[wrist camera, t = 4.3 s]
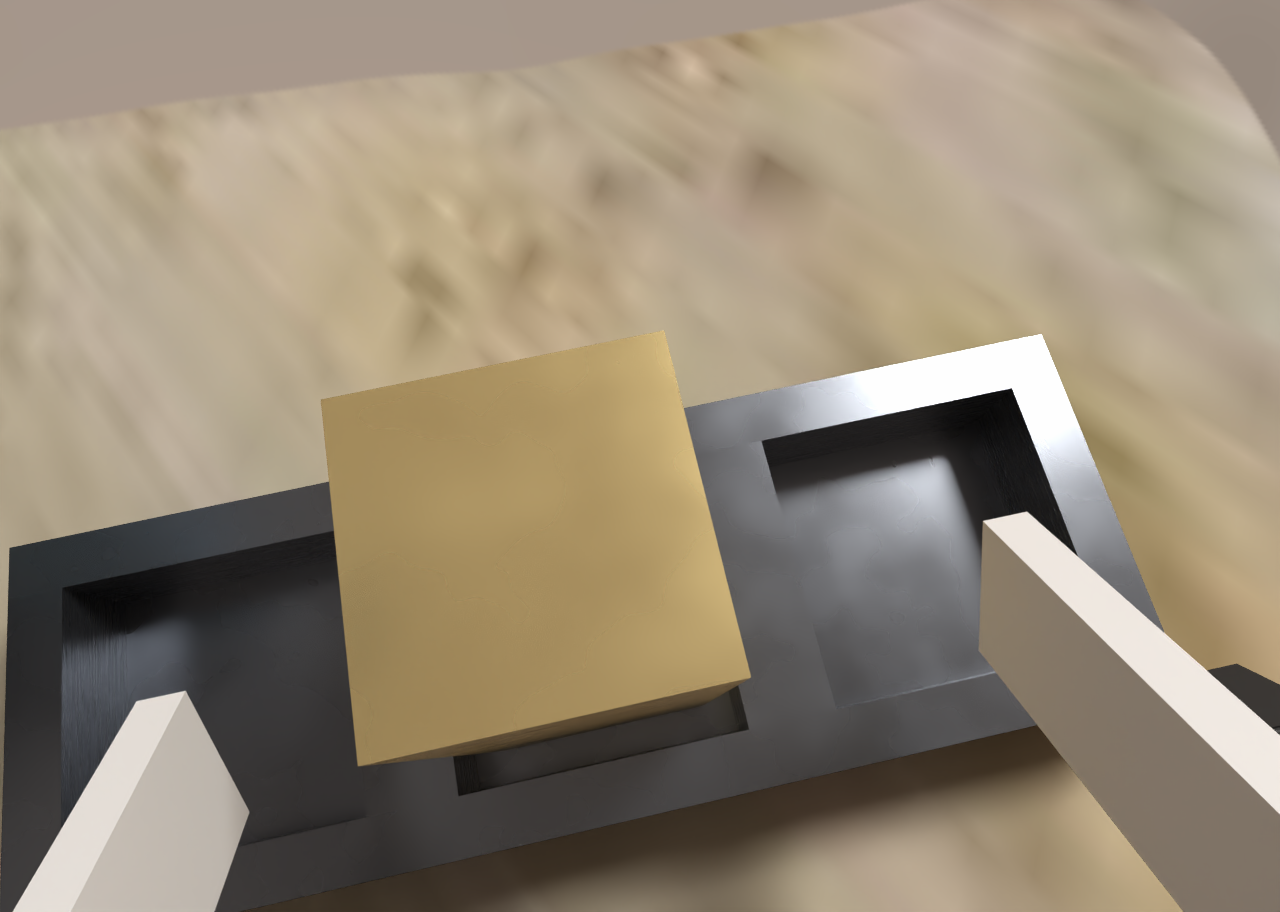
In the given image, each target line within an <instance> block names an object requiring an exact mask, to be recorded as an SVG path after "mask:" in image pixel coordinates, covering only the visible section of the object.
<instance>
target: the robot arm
mask: <svg viewBox="0 0 1280 912" xmlns="http://www.w3.org/2000/svg"><path fill="white" fill-rule="evenodd" d="M979 651H980V653H981V654H982V655H983V656H984V658H985V659H986V660H987V662H988V663H989V664H990V665H991V667H992V668H993V669H994V670H995V672H996V673H997V674H998V676H999V677H1000V678H1001V679H1002V681H1003V682H1004V683H1005V685H1006V686H1007V687H1008V688H1009V690H1010V691H1011V692H1012V693H1013V695H1014V696H1015V697H1016V699H1017V700H1018V701H1019V702H1020V704H1021V705H1022V706H1023V707H1024V709H1025V710H1026V711H1027V713H1028V714H1029V715H1030V716H1031V718H1032V719H1033V720H1034V721H1035V723H1036V724H1037V725H1038V727H1039V728H1040V729H1041V730H1042V732H1043V733H1044V734H1045V736H1046V737H1047V738H1048V739H1049V741H1050V742H1051V743H1052V744H1053V746H1054V747H1055V748H1056V750H1057V751H1058V752H1059V753H1060V755H1061V756H1062V757H1063V758H1064V760H1065V761H1066V762H1067V764H1068V765H1069V766H1070V767H1071V769H1072V770H1073V771H1074V773H1075V774H1076V775H1077V776H1078V778H1079V779H1080V780H1081V781H1082V783H1083V784H1084V785H1085V787H1086V788H1087V789H1088V790H1089V792H1090V793H1091V794H1092V795H1093V797H1094V798H1095V799H1096V801H1097V802H1098V803H1099V804H1100V806H1101V807H1102V808H1103V809H1104V811H1105V812H1106V813H1107V815H1108V816H1109V817H1110V818H1111V820H1112V821H1113V822H1114V824H1115V825H1116V826H1117V827H1118V829H1119V830H1120V831H1121V832H1122V834H1123V835H1124V836H1125V838H1126V839H1127V840H1128V841H1129V843H1130V844H1131V845H1132V846H1133V848H1134V849H1135V850H1136V852H1137V853H1138V854H1139V855H1140V857H1141V858H1142V859H1143V861H1144V862H1145V863H1146V864H1147V866H1148V867H1149V868H1150V869H1151V871H1152V872H1153V873H1154V875H1155V876H1156V877H1157V878H1158V880H1159V881H1160V882H1161V883H1162V885H1163V886H1164V887H1165V889H1166V890H1167V891H1168V892H1169V894H1170V895H1171V896H1172V897H1173V899H1174V900H1175V901H1176V903H1177V904H1178V905H1179V906H1180V908H1181V909H1182V910H1183V912H1280V685H1279V684H1277V683H1275V682H1273V681H1271V680H1269V679H1267V678H1265V677H1263V676H1261V675H1259V674H1257V673H1255V672H1253V671H1251V670H1249V669H1247V668H1245V667H1242V666H1240V665H1238V664H1233V665H1229V666H1224V667H1220V668H1216V669H1211V670H1205V669H1204V668H1203V667H1202V666H1201V665H1200V664H1199V663H1198V662H1196V661H1195V660H1194V659H1193V658H1192V657H1191V656H1190V655H1188V654H1187V653H1186V652H1185V651H1184V650H1183V649H1182V648H1181V647H1179V646H1178V645H1177V644H1176V643H1175V642H1174V641H1173V640H1172V639H1170V638H1169V637H1168V636H1167V635H1166V634H1165V633H1164V632H1162V631H1161V630H1160V629H1159V628H1158V627H1157V626H1156V625H1155V624H1153V623H1152V622H1151V621H1150V620H1149V619H1148V618H1147V617H1146V616H1144V615H1143V614H1142V613H1141V612H1140V611H1139V610H1138V609H1136V608H1135V607H1134V606H1133V605H1132V604H1131V603H1130V602H1129V601H1127V600H1126V599H1125V598H1124V597H1123V596H1122V595H1121V594H1120V593H1118V592H1117V591H1116V590H1115V589H1114V588H1113V587H1112V586H1110V585H1109V584H1108V583H1107V582H1106V581H1105V580H1104V579H1103V578H1101V577H1100V576H1099V575H1098V574H1097V573H1096V572H1095V571H1094V570H1092V569H1091V568H1090V567H1089V566H1088V565H1087V564H1086V563H1084V562H1083V561H1082V560H1081V559H1080V558H1079V557H1078V556H1077V555H1075V554H1074V553H1073V552H1072V551H1071V550H1070V549H1069V548H1068V547H1066V546H1065V545H1064V544H1063V543H1062V542H1061V541H1060V540H1058V539H1057V538H1056V537H1055V536H1054V535H1053V534H1052V533H1051V532H1049V531H1048V530H1047V529H1046V528H1045V527H1044V526H1043V525H1042V524H1040V523H1039V522H1038V521H1037V520H1036V519H1035V518H1034V517H1032V516H1031V515H1030V514H1029V513H1028V512H1023V513H1018V514H1013V515H1009V516H1004V517H999V518H995V519H990V520H985V521H983V532H982V564H981V595H980V627H979ZM248 815H249V810H248V808H247V806H246V804H245V802H244V800H243V799H242V797H241V795H240V793H239V791H238V789H237V787H236V785H235V783H234V781H233V780H232V778H231V776H230V774H229V772H228V770H227V768H226V766H225V764H224V763H223V761H222V759H221V757H220V755H219V753H218V751H217V749H216V747H215V746H214V744H213V742H212V740H211V738H210V736H209V734H208V732H207V730H206V728H205V727H204V725H203V723H202V721H201V719H200V717H199V715H198V713H197V711H196V710H195V708H194V706H193V704H192V702H191V700H190V698H189V696H188V694H187V692H186V691H182V692H178V693H173V694H168V695H164V696H159V697H154V698H150V699H145V700H140V701H136V703H135V705H134V706H133V708H132V710H131V712H130V713H129V715H128V717H127V718H126V720H125V722H124V723H123V725H122V727H121V729H120V730H119V732H118V734H117V735H116V737H115V739H114V740H113V742H112V744H111V746H110V747H109V749H108V751H107V752H106V754H105V756H104V757H103V759H102V761H101V763H100V764H99V766H98V768H97V769H96V771H95V773H94V774H93V776H92V778H91V780H90V781H89V783H88V785H87V786H86V788H85V790H84V791H83V793H82V795H81V797H80V798H79V800H78V802H77V803H76V805H75V807H74V808H73V810H72V812H71V814H70V815H69V817H68V819H67V820H66V822H65V824H64V825H63V827H62V829H61V831H60V832H59V834H58V836H57V837H56V839H55V841H54V842H53V844H52V846H51V848H50V849H49V851H48V853H47V854H46V856H45V858H44V859H43V861H42V863H41V865H40V866H39V868H38V870H37V871H36V873H35V875H34V876H33V878H32V880H31V882H30V883H29V885H28V887H27V888H26V890H25V892H24V893H23V895H22V897H21V899H20V900H19V902H18V904H17V905H16V907H15V909H14V910H13V912H214V911H215V909H216V906H217V903H218V900H219V897H220V894H221V891H222V889H223V886H224V883H225V880H226V877H227V874H228V872H229V869H230V866H231V863H232V860H233V857H234V855H235V852H236V849H237V846H238V843H239V840H240V837H241V835H242V832H243V829H244V826H245V823H246V820H247V818H248Z"/></svg>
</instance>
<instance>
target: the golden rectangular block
mask: <svg viewBox="0 0 1280 912" xmlns="http://www.w3.org/2000/svg"><path fill="white" fill-rule="evenodd" d="M321 406H322V416H323V426H324V436H325V446H326V456H327V466H328V476H329V486H330V495H331V505H332V515H333V525H334V535H335V545H336V555H337V565H338V575H339V585H340V594H341V604H342V614H343V624H344V634H345V644H346V654H347V664H348V674H349V684H350V693H351V703H352V713H353V723H354V733H355V743H356V753H357V763H358V766H367V765H377V764H386V763H396V762H405V761H414V760H424V759H433V758H442V757H452V756H461V755H471V754H480V753H489V752H499V751H507V750H511V749H516V748H520V747H525V746H529V745H533V744H538V743H542V742H547V741H551V740H555V739H560V738H564V737H569V736H573V735H577V734H582V733H586V732H591V731H595V730H599V729H604V728H608V727H613V726H617V725H621V724H626V723H630V722H635V721H639V720H643V719H648V718H652V717H657V716H661V715H665V714H670V713H674V712H679V711H683V710H687V709H692V708H696V707H700V706H703V705H705V704H706V703H708V702H710V701H712V700H713V699H715V698H717V697H719V696H720V695H722V694H724V693H725V692H727V691H729V690H731V689H732V688H734V687H736V686H737V685H739V684H741V683H743V682H744V681H746V680H748V679H750V678H751V675H750V671H749V667H748V663H747V659H746V655H745V651H744V647H743V643H742V639H741V635H740V631H739V627H738V623H737V619H736V615H735V611H734V607H733V603H732V599H731V595H730V591H729V587H728V583H727V579H726V575H725V571H724V567H723V563H722V559H721V555H720V551H719V547H718V543H717V539H716V535H715V531H714V527H713V523H712V519H711V515H710V511H709V507H708V503H707V499H706V495H705V492H704V488H703V484H702V480H701V476H700V472H699V468H698V464H697V460H696V456H695V452H694V448H693V444H692V440H691V436H690V432H689V428H688V424H687V420H686V416H685V412H684V408H683V404H682V400H681V396H680V392H679V388H678V384H677V380H676V376H675V372H674V368H673V364H672V360H671V356H670V352H669V348H668V344H667V340H666V336H665V332H664V331H659V332H654V333H649V334H644V335H639V336H634V337H629V338H625V339H620V340H615V341H610V342H605V343H600V344H595V345H590V346H585V347H580V348H575V349H570V350H565V351H560V352H555V353H550V354H545V355H540V356H535V357H530V358H525V359H520V360H515V361H510V362H505V363H500V364H496V365H491V366H486V367H481V368H476V369H471V370H466V371H461V372H456V373H451V374H446V375H441V376H436V377H431V378H426V379H421V380H416V381H411V382H406V383H401V384H396V385H391V386H386V387H381V388H376V389H372V390H367V391H362V392H357V393H352V394H347V395H342V396H337V397H332V398H327V399H322V400H321Z"/></svg>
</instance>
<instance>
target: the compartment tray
mask: <svg viewBox="0 0 1280 912" xmlns="http://www.w3.org/2000/svg"><path fill="white" fill-rule="evenodd" d="M684 412H685V416H686V420H687V424H688V428H689V432H690V436H691V440H692V444H693V448H694V452H695V456H696V460H697V464H698V468H699V472H700V476H701V480H702V484H703V488H704V492H705V495H706V499H707V503H708V507H709V511H710V515H711V519H712V523H713V527H714V531H715V535H716V539H717V543H718V547H719V551H720V555H721V559H722V563H723V567H724V571H725V575H726V579H727V583H728V587H729V591H730V595H731V599H732V603H733V607H734V611H735V615H736V619H737V623H738V627H739V631H740V635H741V639H742V643H743V647H744V651H745V655H746V659H747V663H748V667H749V671H750V675H751V678H750V679H748V680H746V681H744V682H743V683H741V684H739V685H737V686H736V687H734V688H732V689H731V690H729V691H727V692H725V693H724V694H722V695H720V696H719V697H717V698H715V699H713V700H712V701H710V702H708V703H706V704H705V705H703V706H700V707H696V708H692V709H687V710H683V711H679V712H674V713H670V714H665V715H661V716H657V717H652V718H648V719H643V720H639V721H635V722H630V723H626V724H621V725H617V726H613V727H608V728H604V729H599V730H595V731H591V732H586V733H582V734H577V735H573V736H569V737H564V738H560V739H555V740H551V741H547V742H542V743H538V744H533V745H529V746H525V747H520V748H516V749H511V750H507V751H499V752H489V753H480V754H471V755H461V756H452V757H442V758H433V759H424V760H414V761H405V762H396V763H386V764H377V765H367V766H358V763H357V753H356V743H355V733H354V723H353V713H352V703H351V693H350V684H349V674H348V664H347V654H346V644H345V634H344V624H343V614H342V604H341V594H340V585H339V575H338V565H337V555H336V545H335V535H334V525H333V515H332V505H331V495H330V486H329V482H326V483H321V484H316V485H311V486H306V487H302V488H297V489H292V490H287V491H282V492H277V493H273V494H268V495H263V496H258V497H253V498H248V499H244V500H239V501H234V502H229V503H224V504H220V505H215V506H210V507H205V508H200V509H195V510H191V511H186V512H181V513H176V514H171V515H166V516H162V517H157V518H152V519H147V520H142V521H137V522H133V523H128V524H123V525H118V526H113V527H108V528H104V529H99V530H94V531H89V532H84V533H79V534H75V535H70V536H65V537H60V538H55V539H51V540H46V541H41V542H36V543H31V544H26V545H22V546H17V547H12V548H10V550H9V587H8V624H7V661H6V699H5V736H4V773H3V810H2V847H1V884H0V912H13V910H14V909H15V907H16V905H17V904H18V902H19V900H20V899H21V897H22V895H23V893H24V892H25V890H26V888H27V887H28V885H29V883H30V882H31V880H32V878H33V876H34V875H35V873H36V871H37V870H38V868H39V866H40V865H41V863H42V861H43V859H44V858H45V856H46V854H47V853H48V851H49V849H50V848H51V846H52V844H53V842H54V841H55V839H56V837H57V836H58V834H59V832H60V831H61V829H62V827H63V825H64V824H65V822H66V820H67V819H68V817H69V815H70V814H71V812H72V810H73V808H74V807H75V805H76V803H77V802H78V800H79V798H80V797H81V795H82V793H83V791H84V790H85V788H86V786H87V785H88V783H89V781H90V780H91V778H92V776H93V774H94V773H95V771H96V769H97V768H98V766H99V764H100V763H101V761H102V759H103V757H104V756H105V754H106V752H107V751H108V749H109V747H110V746H111V744H112V742H113V740H114V739H115V737H116V735H117V734H118V732H119V730H120V729H121V727H122V725H123V723H124V722H125V720H126V718H127V717H128V715H129V713H130V712H131V710H132V708H133V706H134V705H135V703H136V701H140V700H145V699H150V698H154V697H159V696H164V695H168V694H173V693H178V692H182V691H186V692H187V694H188V696H189V698H190V700H191V702H192V704H193V706H194V708H195V710H196V711H197V713H198V715H199V717H200V719H201V721H202V723H203V725H204V727H205V728H206V730H207V732H208V734H209V736H210V738H211V740H212V742H213V744H214V746H215V747H216V749H217V751H218V753H219V755H220V757H221V759H222V761H223V763H224V764H225V766H226V768H227V770H228V772H229V774H230V776H231V778H232V780H233V781H234V783H235V785H236V787H237V789H238V791H239V793H240V795H241V797H242V799H243V800H244V802H245V804H246V806H247V808H248V810H249V815H248V818H247V820H246V823H245V826H244V829H243V832H242V835H241V837H240V840H239V843H238V846H237V849H236V852H235V855H234V857H233V860H232V863H231V866H230V869H229V872H228V874H227V877H226V880H225V883H224V886H223V889H222V891H221V894H220V897H219V900H218V903H217V906H216V909H215V911H214V912H240V911H245V910H249V909H253V908H258V907H262V906H266V905H270V904H275V903H279V902H283V901H287V900H292V899H296V898H300V897H305V896H309V895H313V894H317V893H322V892H326V891H330V890H334V889H339V888H343V887H347V886H352V885H356V884H360V883H364V882H369V881H373V880H377V879H381V878H386V877H390V876H394V875H399V874H403V873H407V872H411V871H416V870H420V869H424V868H428V867H433V866H437V865H441V864H446V863H450V862H454V861H458V860H463V859H467V858H471V857H475V856H480V855H484V854H488V853H493V852H497V851H501V850H505V849H510V848H514V847H518V846H522V845H527V844H531V843H535V842H539V841H544V840H548V839H552V838H557V837H561V836H565V835H569V834H574V833H578V832H582V831H586V830H591V829H595V828H599V827H604V826H608V825H612V824H616V823H621V822H625V821H629V820H633V819H638V818H642V817H646V816H651V815H655V814H659V813H663V812H668V811H672V810H676V809H680V808H685V807H689V806H693V805H698V804H702V803H706V802H710V801H715V800H719V799H723V798H727V797H732V796H736V795H740V794H745V793H749V792H753V791H757V790H762V789H766V788H770V787H774V786H779V785H783V784H787V783H792V782H796V781H800V780H804V779H809V778H813V777H817V776H821V775H826V774H830V773H834V772H839V771H843V770H847V769H851V768H856V767H860V766H864V765H868V764H873V763H877V762H881V761H886V760H890V759H894V758H898V757H903V756H907V755H911V754H915V753H920V752H924V751H928V750H933V749H937V748H941V747H945V746H950V745H954V744H958V743H962V742H967V741H971V740H975V739H980V738H984V737H988V736H992V735H997V734H1001V733H1005V732H1009V731H1014V730H1018V729H1022V728H1027V727H1031V726H1035V725H1037V724H1036V723H1035V721H1034V720H1033V719H1032V718H1031V716H1030V715H1029V714H1028V713H1027V711H1026V710H1025V709H1024V707H1023V706H1022V705H1021V704H1020V702H1019V701H1018V700H1017V699H1016V697H1015V696H1014V695H1013V693H1012V692H1011V691H1010V690H1009V688H1008V687H1007V686H1006V685H1005V683H1004V682H1003V681H1002V679H1001V678H1000V677H999V676H998V674H997V673H996V672H995V670H994V669H993V668H992V667H991V665H990V664H989V663H988V662H987V660H986V659H985V658H984V656H983V655H982V654H981V653H980V651H979V627H980V595H981V564H982V532H983V521H985V520H990V519H995V518H999V517H1004V516H1009V515H1013V514H1018V513H1023V512H1028V513H1029V514H1030V515H1031V516H1032V517H1034V518H1035V519H1036V520H1037V521H1038V522H1039V523H1040V524H1042V525H1043V526H1044V527H1045V528H1046V529H1047V530H1048V531H1049V532H1051V533H1052V534H1053V535H1054V536H1055V537H1056V538H1057V539H1058V540H1060V541H1061V542H1062V543H1063V544H1064V545H1065V546H1066V547H1068V548H1069V549H1070V550H1071V551H1072V552H1073V553H1074V554H1075V555H1077V556H1078V557H1079V558H1080V559H1081V560H1082V561H1083V562H1084V563H1086V564H1087V565H1088V566H1089V567H1090V568H1091V569H1092V570H1094V571H1095V572H1096V573H1097V574H1098V575H1099V576H1100V577H1101V578H1103V579H1104V580H1105V581H1106V582H1107V583H1108V584H1109V585H1110V586H1112V587H1113V588H1114V589H1115V590H1116V591H1117V592H1118V593H1120V594H1121V595H1122V596H1123V597H1124V598H1125V599H1126V600H1127V601H1129V602H1130V603H1131V604H1132V605H1133V606H1134V607H1135V608H1136V609H1138V610H1139V611H1140V612H1141V613H1142V614H1143V615H1144V616H1146V617H1147V618H1148V619H1149V620H1150V621H1151V622H1152V623H1153V624H1155V625H1156V626H1157V627H1158V628H1159V629H1160V630H1161V631H1162V632H1164V630H1163V628H1162V625H1161V623H1160V621H1159V618H1158V616H1157V613H1156V611H1155V609H1154V606H1153V604H1152V601H1151V599H1150V596H1149V594H1148V592H1147V589H1146V587H1145V584H1144V582H1143V579H1142V577H1141V575H1140V572H1139V570H1138V567H1137V565H1136V562H1135V560H1134V558H1133V555H1132V553H1131V550H1130V548H1129V545H1128V543H1127V541H1126V538H1125V536H1124V533H1123V531H1122V529H1121V526H1120V524H1119V521H1118V519H1117V516H1116V514H1115V512H1114V509H1113V507H1112V504H1111V502H1110V499H1109V497H1108V495H1107V492H1106V490H1105V487H1104V485H1103V482H1102V480H1101V478H1100V475H1099V473H1098V470H1097V468H1096V465H1095V463H1094V461H1093V458H1092V456H1091V453H1090V451H1089V449H1088V446H1087V444H1086V441H1085V439H1084V436H1083V434H1082V432H1081V429H1080V427H1079V424H1078V422H1077V419H1076V417H1075V415H1074V412H1073V410H1072V407H1071V405H1070V402H1069V400H1068V398H1067V395H1066V393H1065V390H1064V388H1063V386H1062V383H1061V381H1060V378H1059V376H1058V373H1057V371H1056V369H1055V366H1054V364H1053V361H1052V359H1051V356H1050V354H1049V352H1048V349H1047V347H1046V344H1045V342H1044V339H1043V337H1042V335H1041V334H1040V335H1036V336H1031V337H1026V338H1021V339H1016V340H1011V341H1007V342H1002V343H997V344H992V345H987V346H982V347H978V348H973V349H968V350H963V351H958V352H953V353H949V354H944V355H939V356H934V357H929V358H924V359H920V360H915V361H910V362H905V363H900V364H895V365H891V366H886V367H881V368H876V369H871V370H867V371H862V372H857V373H852V374H847V375H842V376H838V377H833V378H828V379H823V380H818V381H813V382H809V383H804V384H799V385H794V386H789V387H784V388H780V389H775V390H770V391H765V392H760V393H755V394H751V395H746V396H741V397H736V398H731V399H726V400H722V401H717V402H712V403H707V404H702V405H698V406H693V407H688V408H684Z"/></svg>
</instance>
